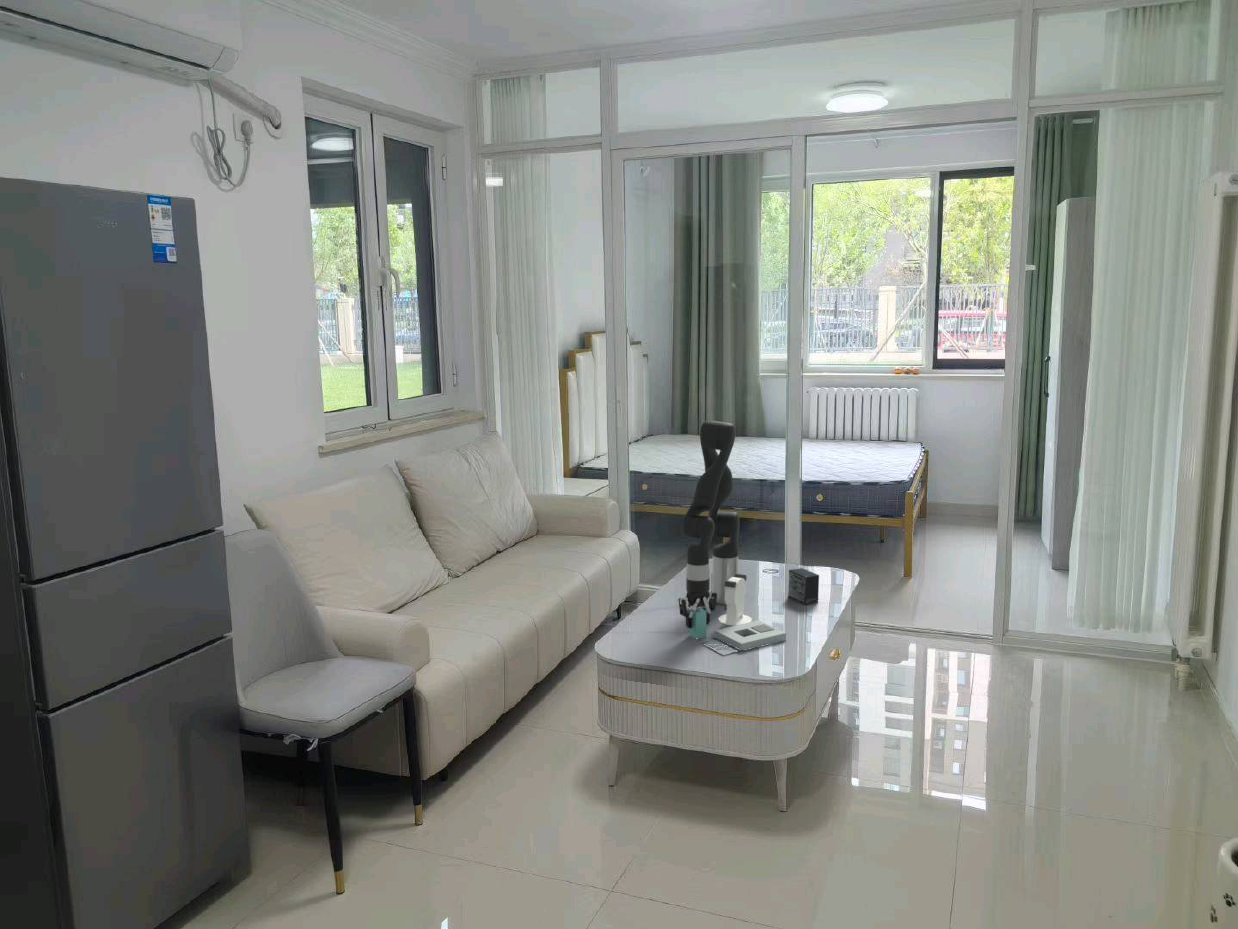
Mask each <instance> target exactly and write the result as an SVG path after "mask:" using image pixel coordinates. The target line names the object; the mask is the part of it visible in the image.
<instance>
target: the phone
mask: <svg viewBox="0 0 1238 929" xmlns="http://www.w3.org/2000/svg"><path fill="white" fill-rule="evenodd" d="M701 643H702V644H706V645H707V644H713V645H711V646H710V645H708V646H710V647H712V648H716V647H718V646H724V645H726V643H724V642H722V641H720V640H719V639H717V638H715V639H710V640H707V641H706V640H705V641H702V642H700V644H701ZM702 644H701V645H702ZM714 644H717V645H715V646H714ZM718 644H719V645H718ZM722 644H723V645H722ZM726 647H727V646H725V647H724V648H723V647H721V648H719V647H718V648H719V649H718V648H717V649H716V650H730V649H729V648H730V645H729V646H728V647H727V648H726ZM722 648H723V649H722ZM735 649H736V648H734V650H735ZM732 650H733V649H732Z"/></svg>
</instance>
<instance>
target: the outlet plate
mask: <svg viewBox="0 0 1238 929" xmlns="http://www.w3.org/2000/svg"><path fill="white" fill-rule="evenodd" d="M714 638H715V639H717V638H718V639H717V640H719V639H720V640H722V641H724V642H726V643H728V644H731V645H733V646H735V647H737V648H739V649H740V650H745V649H749V648H753V647H757V646H761V647H763V646H762V645H765V646H767V645H766V644H769V645H772V644H776V643H781V642H784V640H785V641H787V632H785V631H783V630H781V629H779V628H776V627H774V626H772V625H771V624H768V623H766V622H763V621H761V620H754V621H753V620H752V622H749V623H744V624H740V625H736V626H729V627H728V626H727V627H724V628H718V629H715V630H714ZM720 640H719V641H720ZM722 641H721V642H722ZM780 641H781V642H780ZM724 642H723V643H724ZM726 643H725V644H726ZM728 644H727V645H728ZM757 648H758V647H757ZM753 649H754V648H753ZM740 650H739V651H740ZM749 650H750V649H749ZM745 651H746V650H745Z"/></svg>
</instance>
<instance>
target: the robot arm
mask: <svg viewBox="0 0 1238 929" xmlns="http://www.w3.org/2000/svg"><path fill="white" fill-rule="evenodd" d="M699 430H700V431H699V440H700V446H701V453H702V457H703V462H704V463H703V464H704V472H703V473H702V475H701V476H700V477H699V479H698V481H697V483H696V486H695V491H694V495H693V499H692V501H691V504H690V506H689V507H688V510H687V511H686V513H685V515H684V517H683V518H682V522H681V531H682V533H683V535H684V536H686V537H689V538H697V539H700V542H699V543H697V542H696V543H692V544H690V545H688V546H687V549H686V568H685V569H686V572H685V574H686V575H685V576H686V577H685V578H686V580H685V583H686V584H685V586H686V587H685V588H686V596H685V597H679V598H678V608H679V614H680V616H683V617H684V618H685V626H686V628H688V629H689V628H690V629H691V628H692V615H693V612H694V611H695V610H696V608H698V607H700V608H702V609H704V610H706V626H708V625H710V622H711V613H712V612H713V611H714V612H715V611H716V606H717V604H719V605H725V604H726V603H725V596H724V592H725V588H726V586H725V581H728V580H729V579H730V578H731V577H735V574H739V534H740V516H739V513H738V512H736V511H723V510H721V511H719V510H720V508H721V506H722V505H723V504H724V503H725V502H726V501H727V499H729V497H730V496H731V495H732V492H733V489H734V484H733V483H734V482H733V473H732V471H731V469H730V467H729V465H728V461H729V459H730V455H731V453H732V450H733V447H734V445H735V439H736V428H735V425H734V424H733V423H729V422H724V421H716V420H705V421H704V422H703V423H702V424H701V425H700V429H699ZM717 451H719V453H718V452H717ZM705 512H708V516H702V515H701V514H702V513H705ZM713 537H716V538H729V539H728V540H727V541H726V542H723V543H719V544H717V545H715V546H713V548H712V573H711V574H710V572H711V570H710V549H711V548H710V547H711V543H712V540H713ZM726 605H727V604H726Z"/></svg>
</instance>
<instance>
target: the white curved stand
mask: <svg viewBox="0 0 1238 929" xmlns="http://www.w3.org/2000/svg"><path fill="white" fill-rule="evenodd" d="M747 578H748V577H747V575H746V574H742V573H741V574H740V573H738V574H735V577H731V578H730V579H729V580H728V581H725V586H726V588H725V592H724V596H725V603H726V604H727V605H726V604H724V610H725V611H726V613H725V614H722V615H720V616H719V617H718V622H719V623H720V624H722V625H727V626H729V627H731V626H736V625H740V624H744V623H749V622H753V619H752V617H750V616H749V615H745V614H744V609H745V608H744V604H745V600H746V596H747V583H746V582H747Z"/></svg>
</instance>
